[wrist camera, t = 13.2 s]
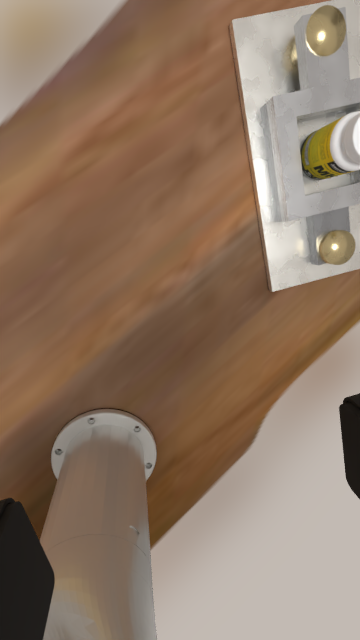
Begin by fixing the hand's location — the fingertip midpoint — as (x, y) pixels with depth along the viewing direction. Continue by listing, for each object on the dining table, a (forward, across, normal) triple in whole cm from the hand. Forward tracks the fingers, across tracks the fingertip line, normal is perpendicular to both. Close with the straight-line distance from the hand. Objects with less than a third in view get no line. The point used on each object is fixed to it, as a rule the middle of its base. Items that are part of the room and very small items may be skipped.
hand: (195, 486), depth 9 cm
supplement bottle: (+28, -21, -10) cm, 36 cm away
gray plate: (+28, -21, -10) cm, 37 cm away
